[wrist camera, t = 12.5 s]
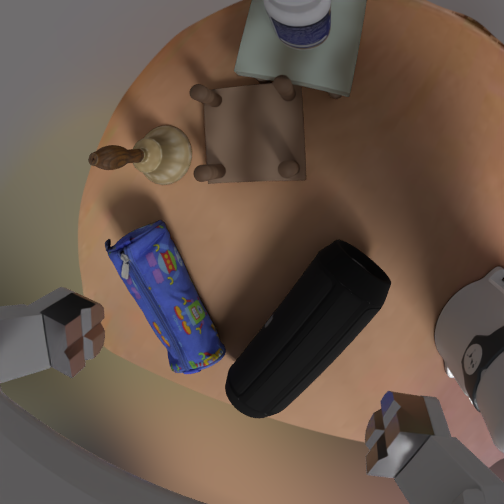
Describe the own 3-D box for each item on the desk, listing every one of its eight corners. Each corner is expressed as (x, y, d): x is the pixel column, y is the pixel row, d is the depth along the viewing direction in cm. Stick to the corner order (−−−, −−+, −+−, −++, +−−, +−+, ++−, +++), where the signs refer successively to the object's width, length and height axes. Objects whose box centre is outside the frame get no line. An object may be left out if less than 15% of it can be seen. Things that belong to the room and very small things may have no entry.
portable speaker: (329, 227, 41) (331, 248, 31) (388, 270, 40) (405, 301, 31) (230, 359, 49) (210, 400, 40) (282, 391, 49) (271, 434, 40)
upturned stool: (301, 85, 36) (296, 68, 29) (306, 179, 39) (302, 184, 32) (208, 93, 39) (184, 81, 31) (213, 182, 42) (189, 188, 34)
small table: (360, 24, 32) (367, -3, 24) (344, 105, 36) (350, 93, 28) (269, 8, 34) (257, -20, 26) (250, 86, 37) (233, 71, 30)
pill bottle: (341, 35, 26) (346, -8, 17) (295, 61, 28) (283, 24, 19) (309, -2, 26) (301, -52, 16) (264, 22, 28) (241, -22, 18)
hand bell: (189, 120, 40) (121, 106, 25) (195, 181, 42) (130, 195, 27) (136, 131, 42) (59, 127, 27) (142, 188, 44) (67, 205, 29)
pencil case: (126, 231, 47) (88, 248, 38) (170, 208, 44) (134, 221, 35) (190, 354, 51) (166, 389, 42) (236, 342, 48) (217, 380, 39)
